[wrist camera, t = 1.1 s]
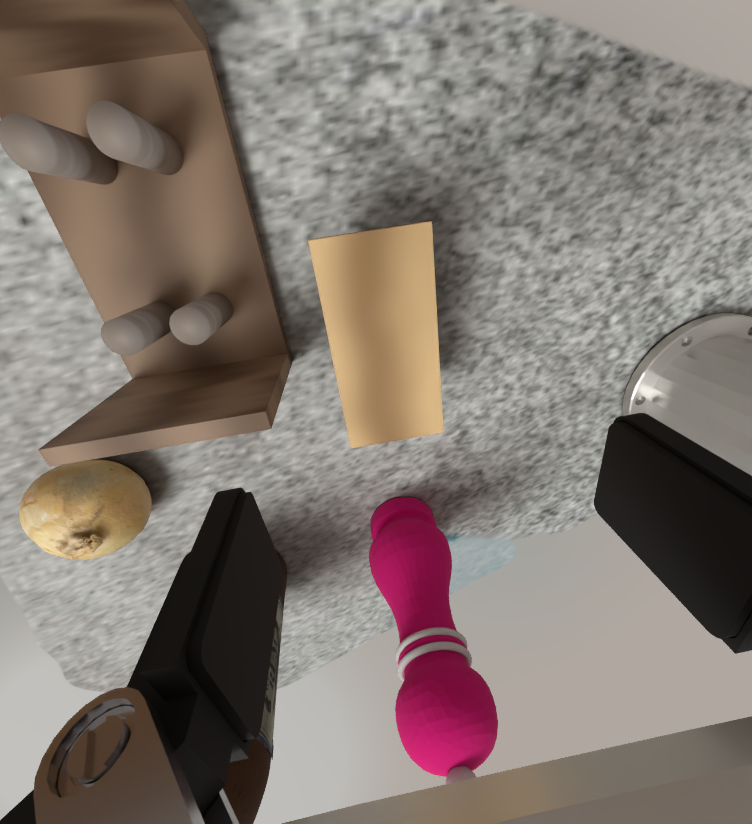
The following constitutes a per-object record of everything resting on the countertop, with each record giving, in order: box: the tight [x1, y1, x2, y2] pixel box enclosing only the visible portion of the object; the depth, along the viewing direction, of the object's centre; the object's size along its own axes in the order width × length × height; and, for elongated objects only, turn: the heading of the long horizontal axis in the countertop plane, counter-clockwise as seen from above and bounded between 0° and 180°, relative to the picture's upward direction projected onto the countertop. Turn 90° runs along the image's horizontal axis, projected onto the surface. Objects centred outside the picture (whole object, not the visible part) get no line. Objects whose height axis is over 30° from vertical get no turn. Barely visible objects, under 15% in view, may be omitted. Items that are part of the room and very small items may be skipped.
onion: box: [19, 459, 152, 560], centre depth 27 cm, size 8×8×7 cm
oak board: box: [308, 221, 443, 448], centre depth 21 cm, size 6×12×2 cm, turn 8°
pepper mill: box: [369, 497, 498, 784], centre depth 26 cm, size 7×7×20 cm
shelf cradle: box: [0, 0, 292, 467], centre depth 18 cm, size 11×18×10 cm, turn 8°
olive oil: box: [223, 552, 287, 824], centre depth 25 cm, size 11×11×25 cm
